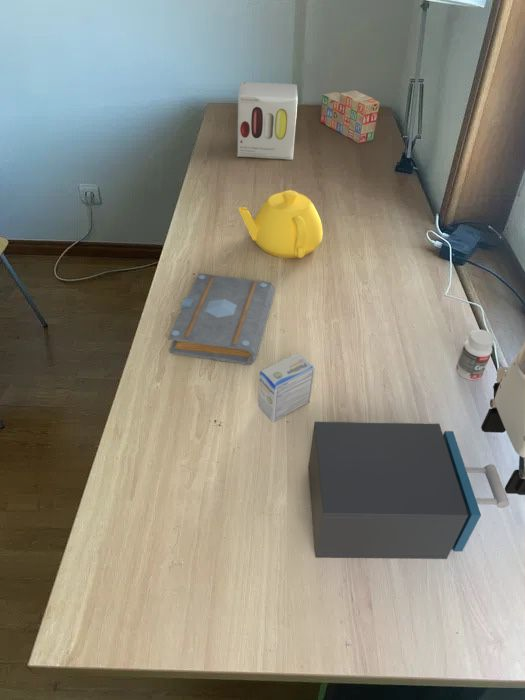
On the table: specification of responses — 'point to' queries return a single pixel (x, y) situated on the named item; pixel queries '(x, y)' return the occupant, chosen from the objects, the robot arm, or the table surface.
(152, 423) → the table surface
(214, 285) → the book
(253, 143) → the supplement box
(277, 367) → the medicine box
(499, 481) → the drawer
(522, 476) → the robot arm
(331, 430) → the drawer cabinet
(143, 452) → the table surface
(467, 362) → the pill bottle
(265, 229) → the teapot
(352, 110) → the stack of blocks
